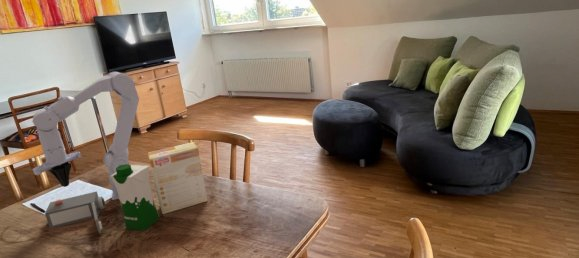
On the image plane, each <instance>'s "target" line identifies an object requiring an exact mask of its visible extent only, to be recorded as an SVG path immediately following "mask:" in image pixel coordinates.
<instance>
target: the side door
mask: <svg viewBox="0 0 579 258" xmlns="http://www.w3.org/2000/svg"><path fill="white" fill-rule="evenodd" d="M91 205H92V209H93V213H94V218H93V219H94V221H95V225H96V228H97V231H98V234H101V233H102V229H103V226H102V222H101V220H100V218H99V217H98V213H97V210H96V206H95V203H94V202H93V203H91Z"/></svg>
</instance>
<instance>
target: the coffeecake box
mask: <svg viewBox="0 0 579 258" xmlns="http://www.w3.org/2000/svg"><path fill="white" fill-rule="evenodd" d="M147 157H148V160H149V164H150V166H149V167H150V169H151V172H152V178H153V182H154V186H155V191H156V195H157V199H158V203H159V206H160V207H159V208H160V211H161V215H165V214H168V213H172V212H175V211H179V210H183V209H185V208H189V207H192V206H195V205H199V204H202V203H206V202H208V201H209V200H208V195H207V190H206V184H205V179H204V174H203V167H202V164H201V163H202V162H201V160H200V159H201V158H200V153H199V148H198V146H197V145H196V144H195V142H194V141H192V142H186V143H183V144H179V145H174V146H170V147H166V148H162V149H158V150H153V151H149V152H147Z"/></svg>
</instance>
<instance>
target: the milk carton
mask: <svg viewBox="0 0 579 258" xmlns="http://www.w3.org/2000/svg"><path fill="white" fill-rule="evenodd" d="M110 177H111V179H112V181H113V183H114V184H115V186H116V188H117V192H118V196H119V199H118V200H119V202H120V207H121V210H122V215H123V220H124V224H125V229H126V230H132V231H133V230H134V231H135V230H136V231H141V232H146V230H148V229H149V228H150V227H151V226H153V224H154V223H156V222H157V221H158V220H160V215H159V213H158V210H157V207H156V203H155V200H154V195H153V190H152V187H151V182H150V166H149V165H138V164H130V163H129V164H125V165H121V166H118V167H117V168H116V172H115V173H114V174H112V175H110Z"/></svg>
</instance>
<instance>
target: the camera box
mask: <svg viewBox="0 0 579 258" xmlns="http://www.w3.org/2000/svg"><path fill="white" fill-rule="evenodd" d="M93 202H94V203H95V206H96V210H97V213H98V218H99V217H100V213H101V210H102V209H103V210H104V209H105V206H106V201H105V199H104V197H103V196H99V195H98V192H97V191H93V192H88V193H85V194H84V193H83V194H80V195H76V196H71V197H67V198H63V199H62V198H61V199H57V200H54V201H50V202H49V205H48V206H47V208H46V211H45V213H44V215H45V218H46V221H47V224H48V227H49V229H51V230H52V229H55V228H59V227H63V226H68V225H70V224H75V223H78V222H83V221H86V220H91V219H95V218H94V213H93V209H92V205H91V203H93Z"/></svg>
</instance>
